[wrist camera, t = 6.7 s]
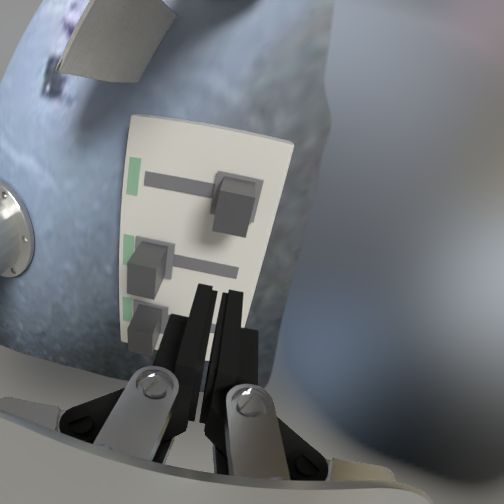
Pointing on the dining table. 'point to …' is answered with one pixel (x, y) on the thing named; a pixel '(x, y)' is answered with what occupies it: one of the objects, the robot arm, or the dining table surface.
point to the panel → (195, 208)
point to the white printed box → (116, 39)
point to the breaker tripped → (234, 203)
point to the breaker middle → (149, 266)
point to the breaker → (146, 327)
